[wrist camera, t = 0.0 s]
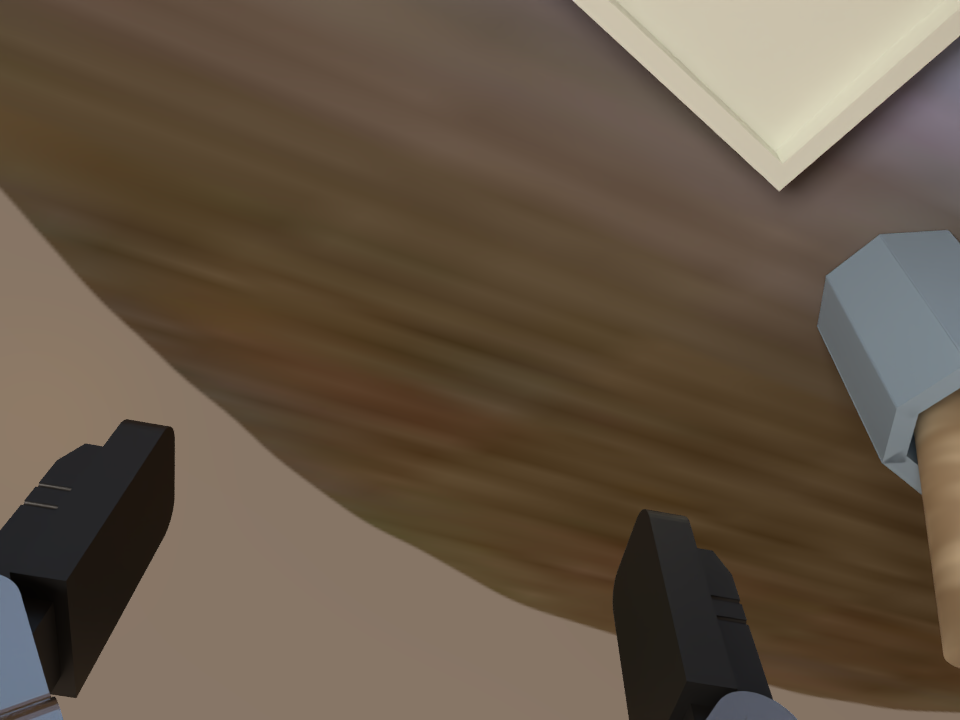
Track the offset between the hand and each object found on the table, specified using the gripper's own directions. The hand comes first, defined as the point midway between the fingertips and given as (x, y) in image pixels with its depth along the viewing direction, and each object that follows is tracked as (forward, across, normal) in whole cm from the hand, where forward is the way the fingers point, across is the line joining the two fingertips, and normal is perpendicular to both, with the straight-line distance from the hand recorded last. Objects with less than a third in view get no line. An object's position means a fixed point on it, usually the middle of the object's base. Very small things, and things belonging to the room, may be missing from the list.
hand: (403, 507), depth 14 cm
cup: (+23, -20, +3) cm, 31 cm away
